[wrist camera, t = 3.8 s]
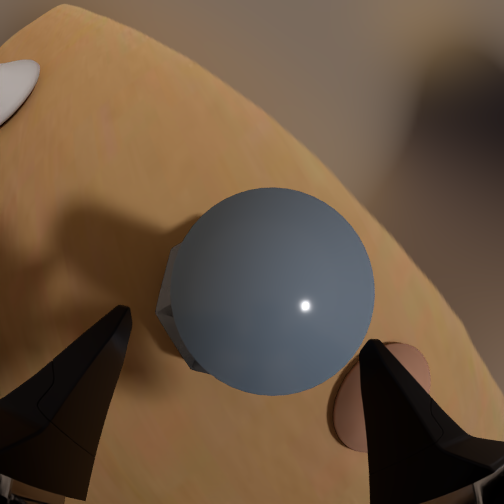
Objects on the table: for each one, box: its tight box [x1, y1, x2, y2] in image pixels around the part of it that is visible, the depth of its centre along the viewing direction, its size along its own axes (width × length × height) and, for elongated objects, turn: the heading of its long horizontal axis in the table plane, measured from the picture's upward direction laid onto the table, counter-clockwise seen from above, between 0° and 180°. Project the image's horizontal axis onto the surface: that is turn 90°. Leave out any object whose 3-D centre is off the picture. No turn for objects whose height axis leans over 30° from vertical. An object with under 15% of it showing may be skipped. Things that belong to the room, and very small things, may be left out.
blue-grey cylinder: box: [170, 188, 375, 396], centre depth 12 cm, size 5×5×12 cm
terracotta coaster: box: [333, 343, 431, 453], centre depth 18 cm, size 10×10×1 cm
